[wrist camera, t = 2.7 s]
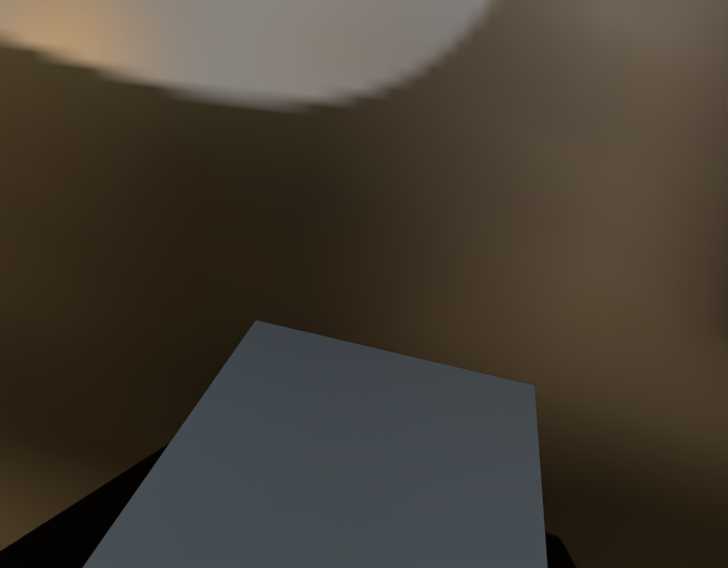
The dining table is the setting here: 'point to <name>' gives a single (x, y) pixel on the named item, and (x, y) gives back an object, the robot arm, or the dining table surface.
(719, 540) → the dining table surface
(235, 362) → the blue cube
